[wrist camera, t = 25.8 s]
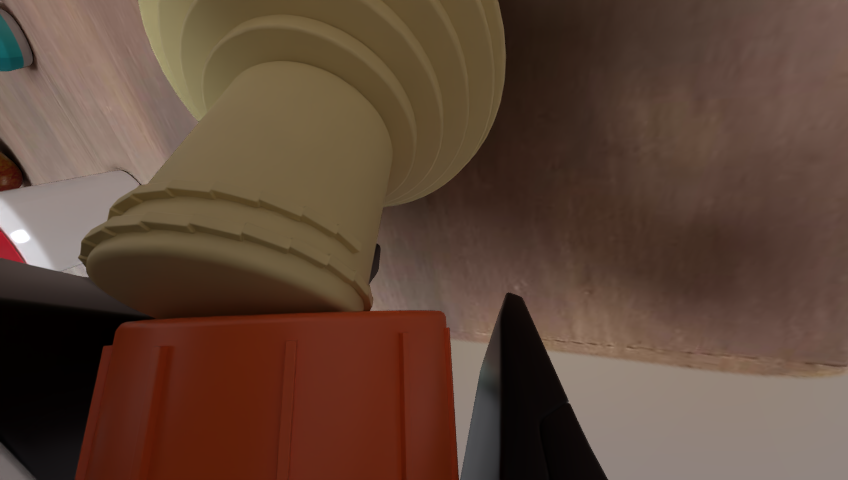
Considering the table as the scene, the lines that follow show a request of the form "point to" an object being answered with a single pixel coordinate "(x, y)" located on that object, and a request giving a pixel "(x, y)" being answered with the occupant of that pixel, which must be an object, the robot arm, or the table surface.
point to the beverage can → (12, 45)
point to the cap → (275, 399)
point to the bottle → (296, 148)
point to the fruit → (9, 174)
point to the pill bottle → (57, 217)
